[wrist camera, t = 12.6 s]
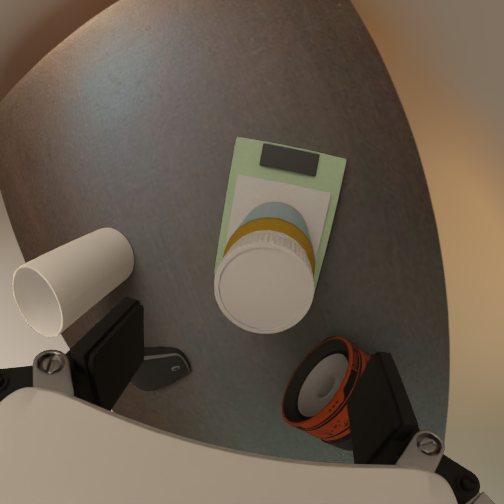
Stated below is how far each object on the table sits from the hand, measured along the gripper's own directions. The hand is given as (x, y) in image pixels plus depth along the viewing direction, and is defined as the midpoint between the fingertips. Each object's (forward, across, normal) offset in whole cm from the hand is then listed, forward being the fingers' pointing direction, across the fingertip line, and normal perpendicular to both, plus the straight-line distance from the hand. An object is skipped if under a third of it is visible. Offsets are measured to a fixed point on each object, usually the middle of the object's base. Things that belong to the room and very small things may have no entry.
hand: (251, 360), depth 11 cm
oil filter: (+25, -14, +19) cm, 35 cm away
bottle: (+22, 0, +1) cm, 22 cm away
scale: (+25, 0, -1) cm, 25 cm away
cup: (+25, +22, +9) cm, 35 cm away
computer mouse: (+25, +14, +26) cm, 39 cm away
